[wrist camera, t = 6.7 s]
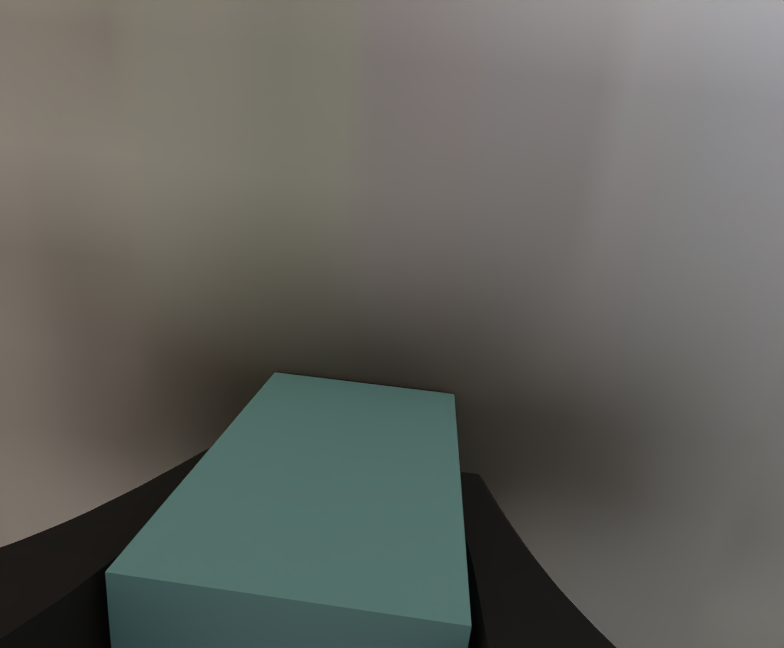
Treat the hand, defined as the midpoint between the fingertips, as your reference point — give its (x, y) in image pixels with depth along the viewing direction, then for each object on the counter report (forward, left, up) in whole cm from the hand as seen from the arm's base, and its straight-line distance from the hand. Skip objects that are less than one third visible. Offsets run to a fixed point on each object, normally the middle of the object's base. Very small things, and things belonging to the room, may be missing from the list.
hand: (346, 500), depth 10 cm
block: (0, 0, -1) cm, 1 cm away
